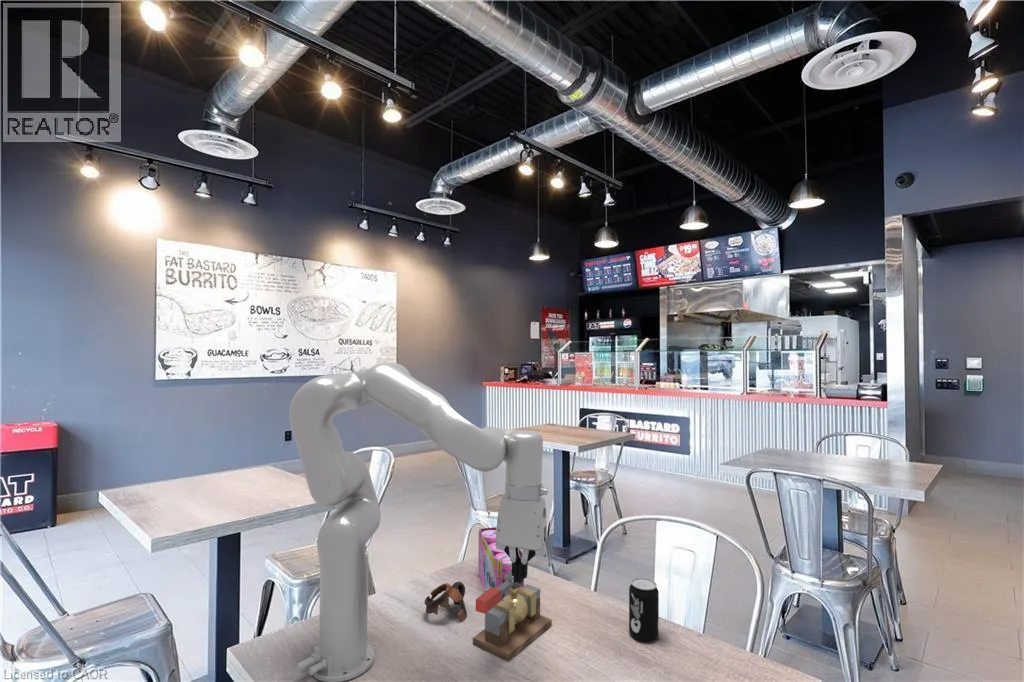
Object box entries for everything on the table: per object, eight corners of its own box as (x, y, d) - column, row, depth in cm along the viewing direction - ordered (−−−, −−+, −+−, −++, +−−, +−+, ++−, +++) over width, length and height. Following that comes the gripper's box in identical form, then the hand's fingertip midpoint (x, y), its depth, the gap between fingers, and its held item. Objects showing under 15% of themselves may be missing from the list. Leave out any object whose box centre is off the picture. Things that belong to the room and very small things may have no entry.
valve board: (508, 661, 102) (509, 632, 102) (472, 644, 108) (473, 616, 108) (551, 625, 115) (551, 600, 116) (517, 612, 121) (518, 587, 122)
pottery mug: (459, 631, 114) (441, 601, 113) (430, 639, 118) (413, 609, 118) (481, 595, 124) (464, 568, 124) (454, 603, 129) (438, 577, 128)
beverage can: (659, 646, 108) (659, 591, 108) (629, 642, 109) (629, 588, 109) (657, 629, 114) (657, 578, 115) (628, 626, 116) (628, 575, 116)
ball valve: (503, 643, 103) (503, 604, 104) (480, 633, 107) (481, 595, 107) (544, 612, 116) (544, 577, 116) (522, 603, 120) (522, 570, 120)
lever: (511, 581, 114) (511, 570, 114) (522, 584, 112) (523, 573, 113) (474, 610, 101) (474, 598, 101) (486, 614, 99) (486, 602, 99)
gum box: (526, 613, 121) (527, 558, 121) (495, 617, 119) (496, 561, 119) (503, 572, 144) (504, 526, 144) (477, 575, 142) (477, 528, 142)
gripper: (561, 490, 102) (558, 578, 102) (494, 482, 106) (491, 567, 106) (554, 500, 95) (550, 595, 94) (482, 491, 99) (478, 582, 99)
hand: (519, 580), depth 100 cm, fingers closed
